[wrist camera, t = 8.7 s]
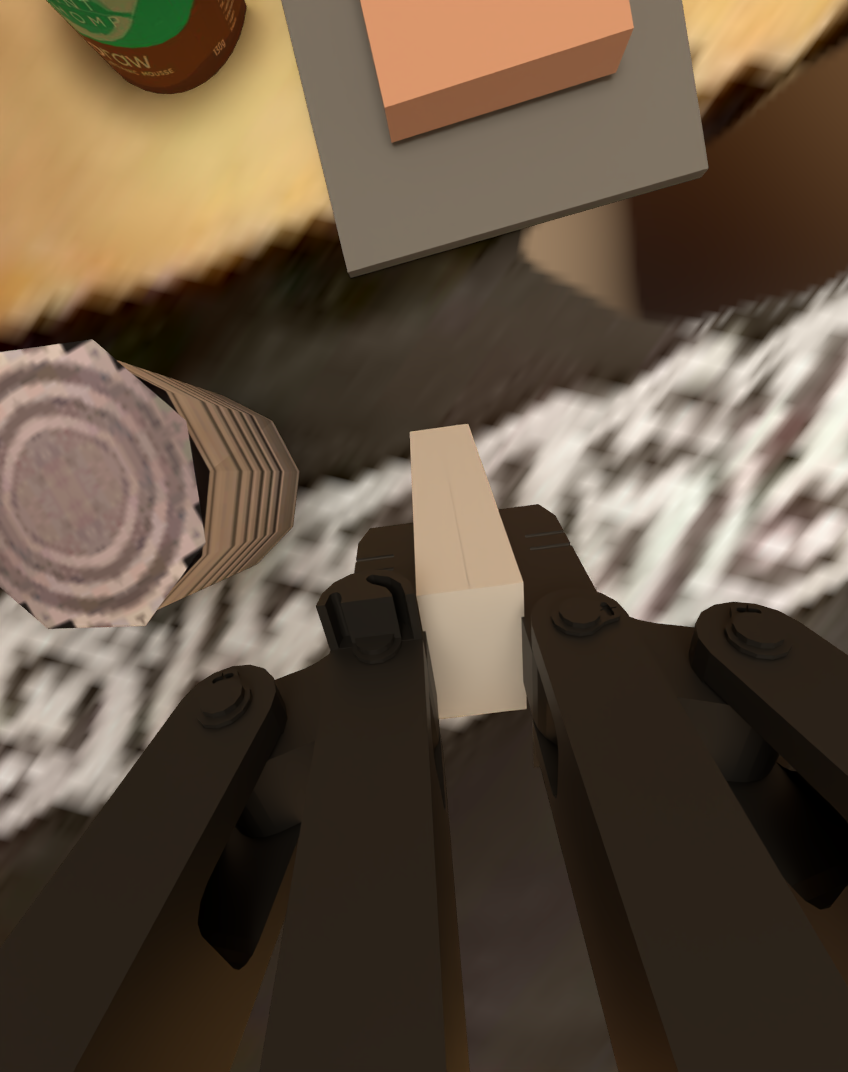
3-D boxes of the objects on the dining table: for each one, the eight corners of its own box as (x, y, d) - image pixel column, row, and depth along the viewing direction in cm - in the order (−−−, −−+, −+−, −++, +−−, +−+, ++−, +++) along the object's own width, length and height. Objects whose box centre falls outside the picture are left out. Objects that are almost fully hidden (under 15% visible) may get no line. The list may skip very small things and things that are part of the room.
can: (317, 560, 30) (228, 617, 19) (150, 585, 31) (-36, 654, 20) (283, 378, 29) (163, 312, 17) (109, 410, 30) (-117, 368, 18)
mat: (350, 277, 28) (347, 272, 27) (247, -145, 26) (241, -165, 25) (700, 177, 26) (708, 168, 25) (626, -290, 24) (631, -316, 23)
